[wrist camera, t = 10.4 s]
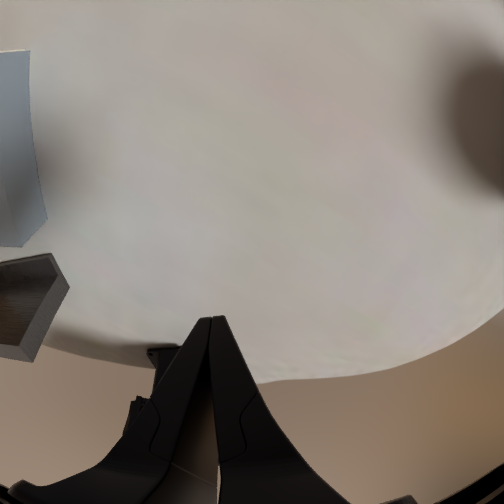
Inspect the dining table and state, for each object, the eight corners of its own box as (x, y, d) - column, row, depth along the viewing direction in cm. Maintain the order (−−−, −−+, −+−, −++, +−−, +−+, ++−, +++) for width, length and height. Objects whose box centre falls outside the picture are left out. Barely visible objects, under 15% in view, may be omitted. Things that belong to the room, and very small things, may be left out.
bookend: (69, 287, 23) (33, 362, 16) (2, 292, 23) (-32, 349, 16) (51, 253, 21) (3, 327, 13) (-14, 265, 21) (-54, 321, 14)
